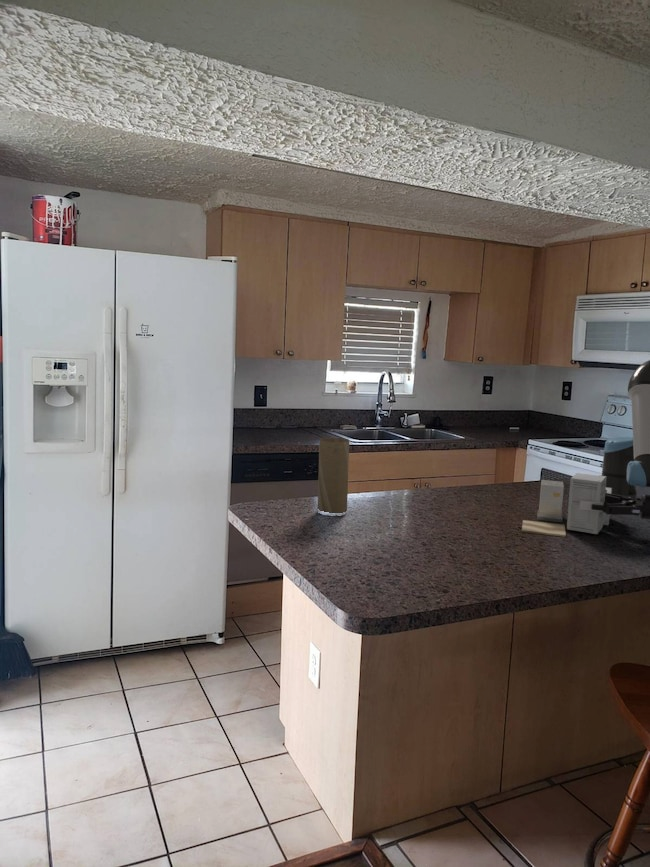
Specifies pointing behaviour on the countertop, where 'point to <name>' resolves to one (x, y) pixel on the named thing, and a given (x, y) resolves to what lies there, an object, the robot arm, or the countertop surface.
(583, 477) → the supplement box
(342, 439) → the tube
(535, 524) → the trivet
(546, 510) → the unit
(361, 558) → the countertop surface
